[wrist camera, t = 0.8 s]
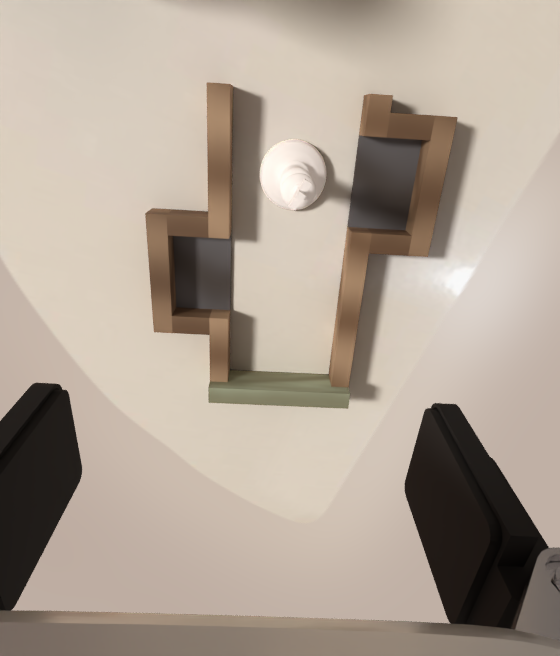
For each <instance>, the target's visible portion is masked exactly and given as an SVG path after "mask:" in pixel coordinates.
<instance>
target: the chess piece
mask: <svg viewBox="0 0 560 656" xmlns="http://www.w3.org/2000/svg"><path fill="white" fill-rule="evenodd" d="M326 176H327V172H326V165H325V162H324V159H323V157H322V155H321V154H320V152H319V151H318V150H317V149H316V148H315V147H314V146H313V145H311V144H310V143H308V142H306V141H303V140H299V139H289V140H284V141H281V142H279V143H277V144H276V145H274V146H273V147H272V148H271V149H270V150H269V151H268V152H267V153H266V155H265V157H264V159H263V161H262V163H261V167H260V182H261V186H262V189H263V191H264V193H265V195H266V196H267V197H268V199H269V200H270V201H271V202H273V203H274V204H275V205H277V206H279V207H281V208H284V209H288V210H294V211H295V210H298V209H304V208H306V207H308V206H309V205H311V204H312V203H313V202H314V201H316V200H317V198H318V197H319V196H320V194H321V193H322V191H323V189H324V186H325V183H326Z"/></svg>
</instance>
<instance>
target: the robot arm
mask: <svg viewBox="0 0 560 656" xmlns="http://www.w3.org/2000/svg"><path fill="white" fill-rule="evenodd" d="M81 475H82V465H81V459H80V454H79V448H78V443H77V437H76V432H75V426H74V420H73V415H72V410H71V404H70V398H69V394H68V392H67V390H62V387H61V386H60V385H59V384H48V383H34V384H33V385H31V386H30V388H29V389H28V390H27V391H26V392H25V393H24V394H23V396H22V397H21V398H20V399H19V400H18V401H17V402H16V404H15V405H14V406H13V407H12V408H11V409H10V410H9V412H8V413H7V414H6V415H5V416H4V417H3V419H2V420H1V421H0V656H560V548H548V546H547V544H546V542H545V541H544V539H543V538H542V536H541V534H540V533H539V531H538V530H537V528H536V527H535V525H534V523H533V522H532V520H531V518H530V517H529V515H528V513H527V512H526V510H525V509H524V507H523V506H522V504H521V502H520V501H519V499H518V498H517V496H516V494H515V493H514V491H513V489H512V488H511V487H510V485H509V483H508V481H507V480H506V478H505V477H504V475H503V474H502V472H501V470H500V469H499V467H498V466H497V464H496V462H495V461H494V460H493V459H492V458H491V457H489V455H488V453H487V452H486V450H485V449H484V447H483V445H482V444H481V442H480V441H479V439H478V437H477V436H476V434H475V432H474V431H473V429H472V427H471V426H470V424H469V423H468V421H467V419H466V418H465V416H464V415H463V413H462V411H461V410H460V408H459V407H458V406H457V405H455V404H440V403H435V404H433V405H432V407H431V408H428V409H426V410H425V412H424V415H423V419H422V422H421V426H420V429H419V433H418V437H417V440H416V444H415V447H414V451H413V455H412V458H411V462H410V466H409V469H408V473H407V477H406V480H405V494H406V498H407V501H408V503H409V506H410V509H411V512H412V515H413V518H414V521H415V524H416V527H417V530H418V533H419V536H420V539H421V542H422V545H423V547H424V551H425V553H426V556H427V559H428V562H429V565H430V568H431V571H432V574H433V577H434V580H435V583H436V586H437V589H438V592H439V595H440V598H441V601H442V604H443V606H444V609H445V613H446V615H447V618H448V620H449V622H450V623H451V624H447V623H428V622H427V623H426V622H409V621H383V620H355V619H325V618H297V617H296V618H294V617H264V616H232V615H196V614H160V613H118V612H75V611H11V610H12V609H13V608H14V606H15V605H16V603H17V601H18V599H19V597H20V595H21V593H22V592H23V590H24V587H25V586H26V584H27V582H28V580H29V578H30V576H31V574H32V572H33V570H34V568H35V566H36V565H37V563H38V561H39V559H40V557H41V555H42V553H43V551H44V549H45V547H46V545H47V543H48V541H49V539H50V537H51V536H52V534H53V532H54V530H55V528H56V526H57V524H58V522H59V520H60V518H61V516H62V514H63V513H64V511H65V509H66V507H67V505H68V503H69V501H70V499H71V497H72V495H73V493H74V491H75V489H76V488H77V486H78V484H79V482H80V479H81Z"/></svg>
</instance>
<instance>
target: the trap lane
mask: <svg viewBox="0 0 560 656" xmlns="http://www.w3.org/2000/svg"><path fill="white" fill-rule="evenodd" d="M392 98H393V95H379V94H368V95H364V101H363V109H362V117H361V125H360V132H359V140H358V148H357V156H356V164H355V172H354V179H353V187H352V195H351V203H350V211H349V219H348V227H347V234H346V242H345V250H344V258H343V266H342V274H341V282H340V289H339V297H338V305H337V313H336V321H335V329H334V336H333V344H332V352H331V360H330V368H329V375H327V374H305V373H283V372H261V371H239V370H230V303H231V219H232V136H233V86H232V85H231V84H221V83H207V143H208V212H205V211H188V210H171V209H154V208H152V209H151V210H150V211H148V212H147V213H145V215H146V229H147V243H148V256H149V270H150V284H151V298H152V312H153V325H154V332H163V333H184V334H205V335H210V384H209V403H230V404H253V405H277V406H300V407H324V408H347V409H348V405H349V398H350V392H349V388H348V387H349V380H350V373H351V367H352V360H353V354H354V347H355V341H356V334H357V328H358V321H359V314H360V308H361V301H362V295H363V288H364V282H365V275H366V269H367V262H368V256H369V253H370V254H388V255H406V256H424V257H428V253H429V249H430V244H431V239H432V235H433V230H434V225H435V221H436V216H437V211H438V207H439V202H440V197H441V192H442V188H443V183H444V178H445V174H446V169H447V164H448V160H449V155H450V150H451V146H452V141H453V136H454V132H455V127H456V122H457V118H458V117H446V116H431V115H417V114H402V113H390V111H391V105H392Z"/></svg>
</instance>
